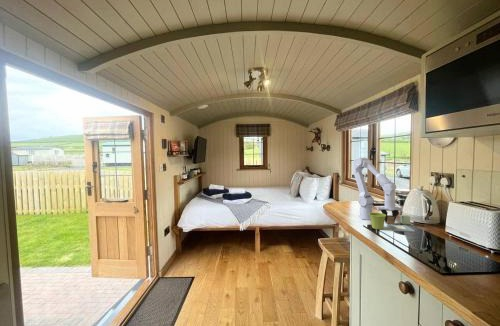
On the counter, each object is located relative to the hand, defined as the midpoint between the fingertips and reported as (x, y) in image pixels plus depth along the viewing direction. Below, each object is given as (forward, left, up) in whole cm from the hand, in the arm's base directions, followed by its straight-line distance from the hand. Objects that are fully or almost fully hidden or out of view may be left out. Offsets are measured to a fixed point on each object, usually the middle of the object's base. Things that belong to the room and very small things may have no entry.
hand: (389, 221), depth 146 cm
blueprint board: (+10, +2, -1) cm, 10 cm away
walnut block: (0, 0, -1) cm, 1 cm away
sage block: (-2, +10, -2) cm, 10 cm away
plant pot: (+11, -11, -2) cm, 16 cm away
